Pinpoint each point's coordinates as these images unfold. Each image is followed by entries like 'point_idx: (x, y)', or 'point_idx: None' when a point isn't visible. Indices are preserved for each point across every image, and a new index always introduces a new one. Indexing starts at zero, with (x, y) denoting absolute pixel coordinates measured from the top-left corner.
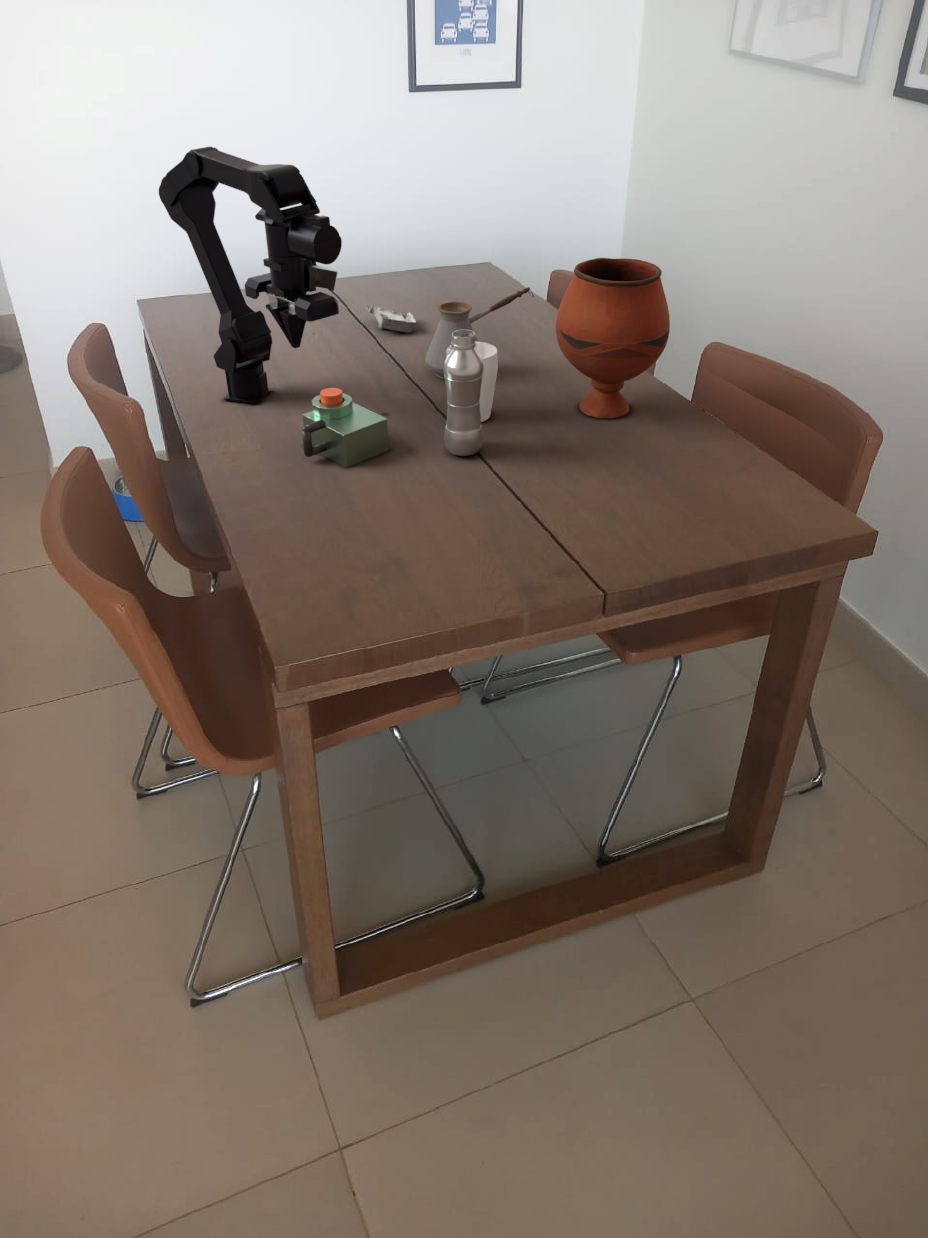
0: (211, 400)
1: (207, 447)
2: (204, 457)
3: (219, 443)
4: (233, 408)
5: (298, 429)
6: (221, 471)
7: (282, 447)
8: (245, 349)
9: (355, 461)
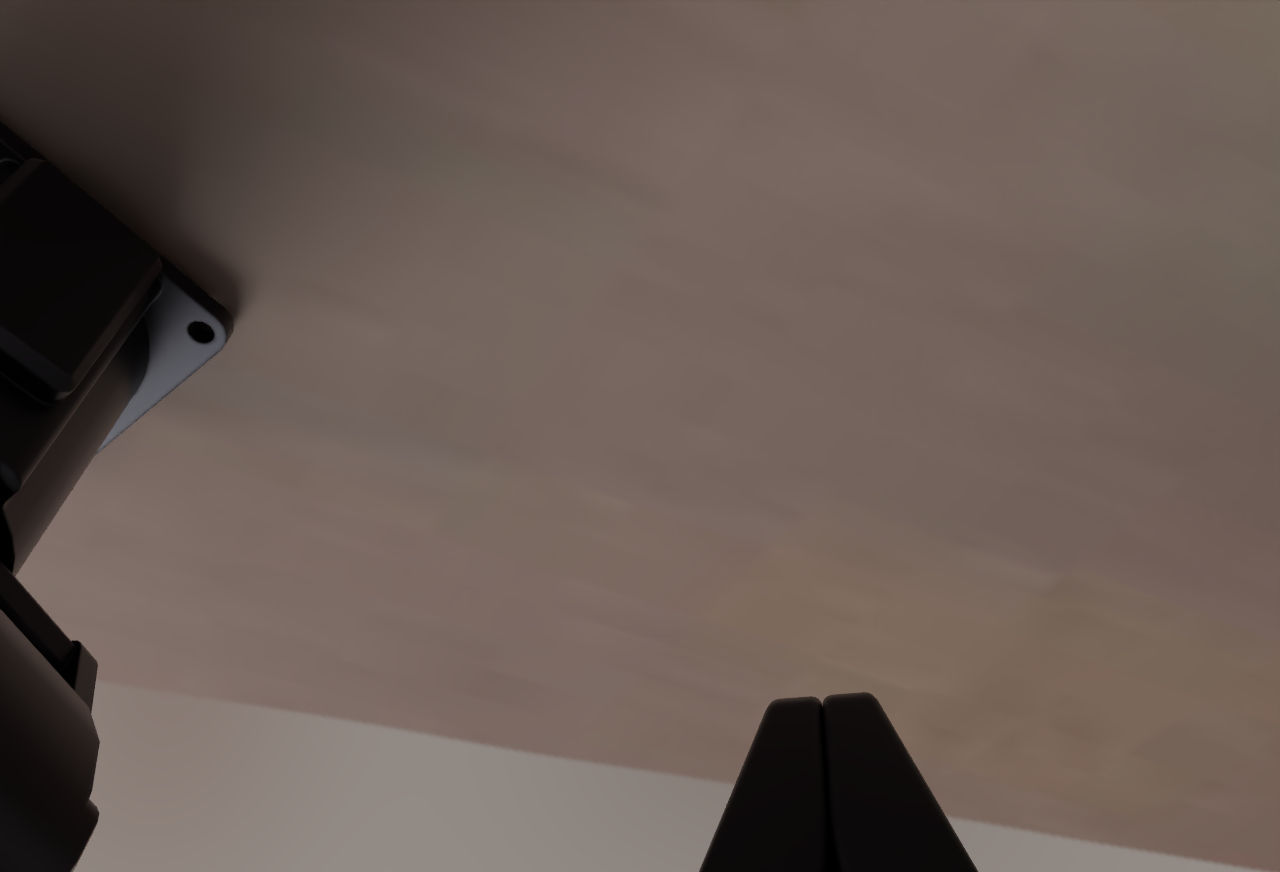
0: None
1: None
2: None
3: None
4: (245, 467)
5: (961, 233)
6: (1148, 807)
7: (1165, 465)
8: (61, 832)
9: None
